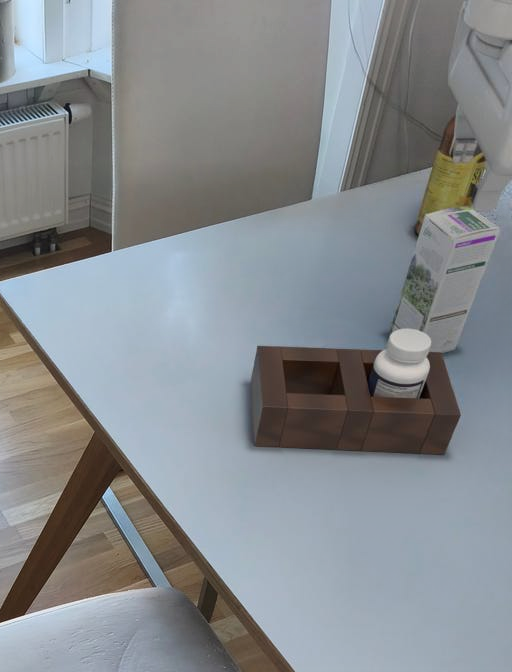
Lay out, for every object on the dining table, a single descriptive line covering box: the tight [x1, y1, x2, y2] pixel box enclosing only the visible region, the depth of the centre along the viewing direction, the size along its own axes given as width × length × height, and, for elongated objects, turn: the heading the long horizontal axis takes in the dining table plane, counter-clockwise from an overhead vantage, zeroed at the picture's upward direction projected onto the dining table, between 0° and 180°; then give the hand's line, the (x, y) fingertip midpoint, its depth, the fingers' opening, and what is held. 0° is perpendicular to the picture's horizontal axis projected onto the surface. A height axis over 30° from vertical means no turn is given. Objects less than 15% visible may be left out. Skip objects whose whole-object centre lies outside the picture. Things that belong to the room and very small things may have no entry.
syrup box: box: [388, 206, 501, 354], centre depth 98 cm, size 6×6×14 cm
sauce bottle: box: [414, 113, 486, 236], centre depth 112 cm, size 6×6×20 cm
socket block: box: [249, 345, 462, 456], centre depth 93 cm, size 19×11×5 cm, turn 84°
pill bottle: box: [368, 329, 431, 399], centre depth 91 cm, size 5×5×10 cm
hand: (469, 183), depth 78 cm, fingers open, 8 cm apart
